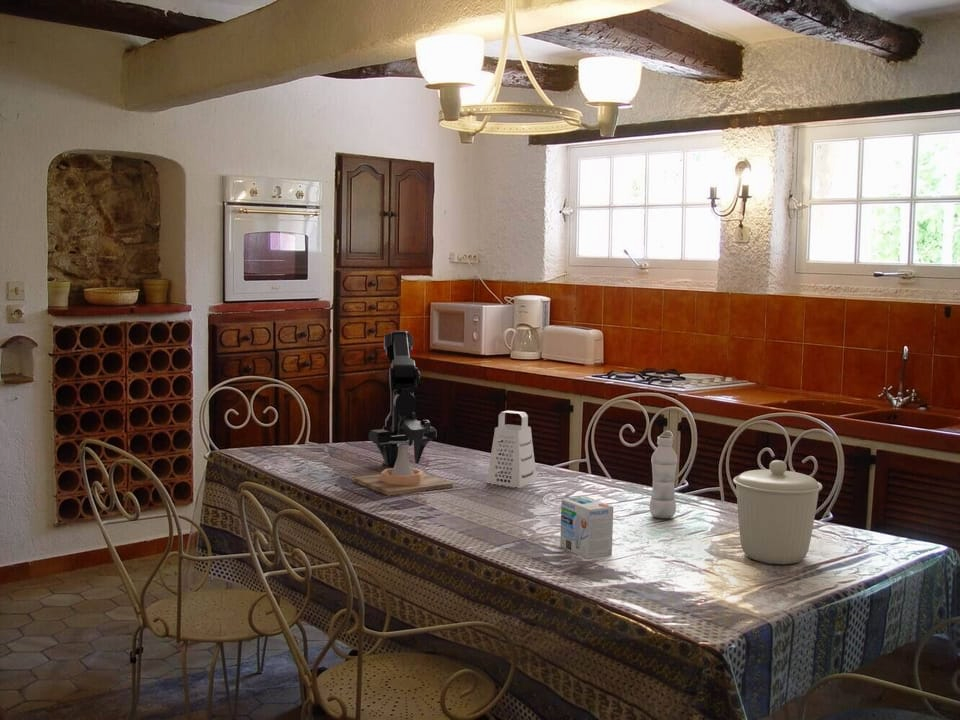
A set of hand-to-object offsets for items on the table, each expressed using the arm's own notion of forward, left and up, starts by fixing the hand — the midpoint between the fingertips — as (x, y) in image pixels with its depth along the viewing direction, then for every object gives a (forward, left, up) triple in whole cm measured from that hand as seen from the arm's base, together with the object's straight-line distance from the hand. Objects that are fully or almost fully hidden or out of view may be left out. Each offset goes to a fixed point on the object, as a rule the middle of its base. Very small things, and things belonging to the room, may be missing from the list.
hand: (402, 464), depth 279 cm
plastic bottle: (+64, +36, -6) cm, 74 cm away
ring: (0, 0, -4) cm, 4 cm away
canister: (+101, +32, -6) cm, 106 cm away
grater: (+13, +28, -6) cm, 31 cm away
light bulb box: (+76, +1, -6) cm, 76 cm away
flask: (0, 0, -4) cm, 4 cm away
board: (0, 0, -6) cm, 6 cm away
